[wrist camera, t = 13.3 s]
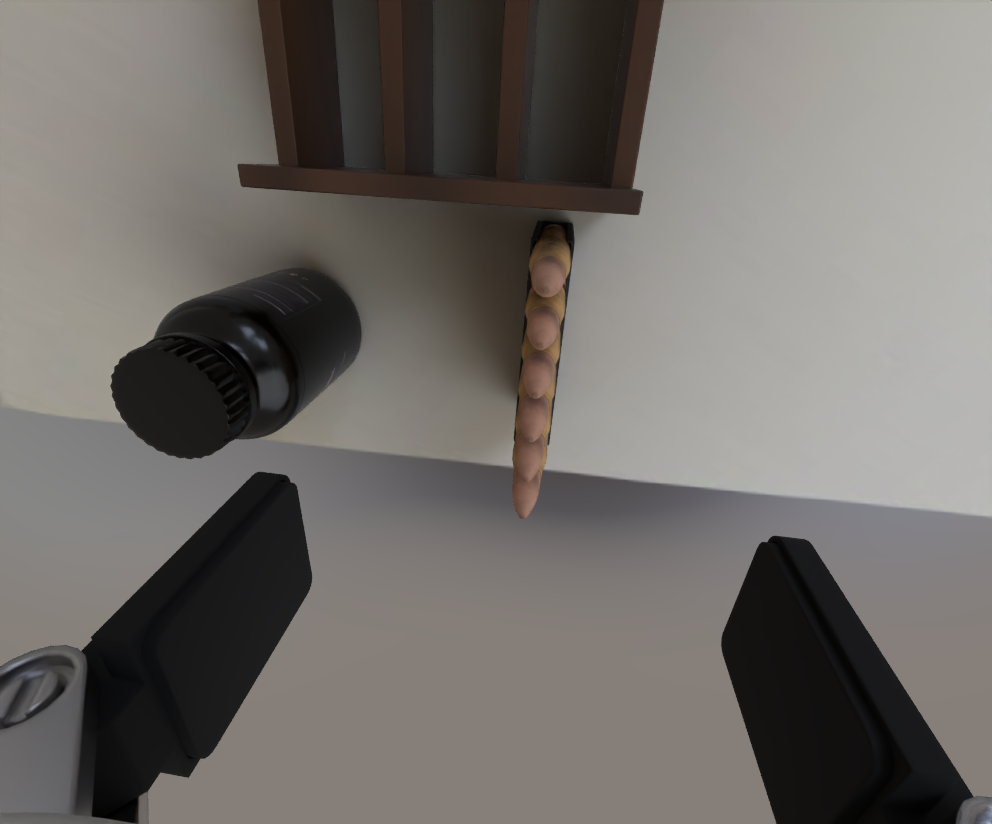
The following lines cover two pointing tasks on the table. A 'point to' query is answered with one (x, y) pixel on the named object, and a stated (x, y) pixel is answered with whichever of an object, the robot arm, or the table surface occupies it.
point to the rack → (409, 110)
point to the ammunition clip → (540, 356)
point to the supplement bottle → (237, 362)
